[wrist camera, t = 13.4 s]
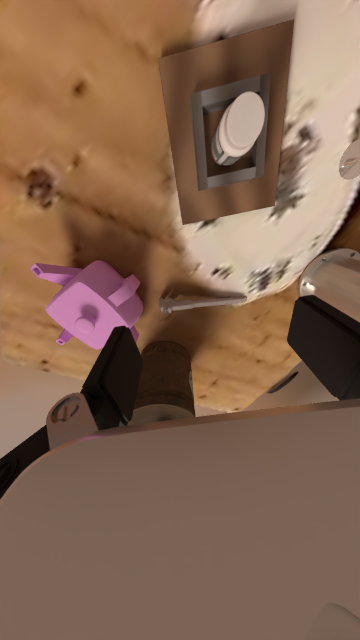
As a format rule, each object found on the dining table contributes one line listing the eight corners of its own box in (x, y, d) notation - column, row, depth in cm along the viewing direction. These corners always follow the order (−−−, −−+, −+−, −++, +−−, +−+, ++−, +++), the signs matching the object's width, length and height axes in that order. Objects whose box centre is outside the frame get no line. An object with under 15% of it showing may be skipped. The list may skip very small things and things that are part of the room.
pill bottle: (249, 135, 24) (279, 105, 17) (230, 174, 27) (249, 160, 20) (222, 113, 23) (242, 70, 16) (204, 155, 25) (215, 134, 18)
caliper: (160, 300, 40) (158, 314, 35) (160, 296, 40) (157, 309, 34) (245, 300, 41) (255, 313, 35) (246, 296, 40) (257, 309, 35)
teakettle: (143, 329, 44) (133, 365, 34) (75, 321, 43) (43, 356, 32) (147, 264, 35) (135, 285, 25) (61, 250, 34) (10, 268, 23)
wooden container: (174, 381, 56) (173, 465, 38) (132, 366, 52) (108, 452, 33) (199, 353, 49) (214, 437, 31) (154, 332, 45) (139, 417, 27)
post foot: (286, 31, 21) (308, -5, 17) (270, 206, 30) (282, 205, 27) (159, 67, 22) (156, 41, 18) (182, 224, 31) (183, 225, 28)
